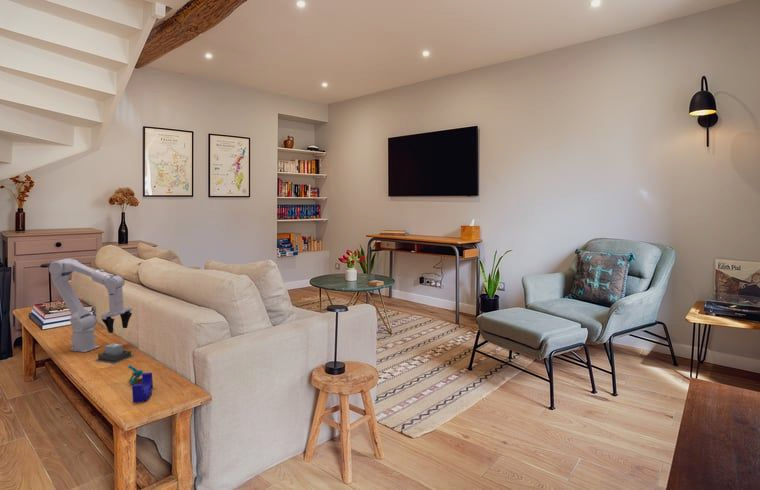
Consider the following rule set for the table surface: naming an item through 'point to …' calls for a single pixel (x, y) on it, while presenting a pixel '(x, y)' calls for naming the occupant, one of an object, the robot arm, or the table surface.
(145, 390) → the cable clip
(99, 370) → the table surface
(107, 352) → the block
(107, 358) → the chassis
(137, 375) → the teal irregular piece
